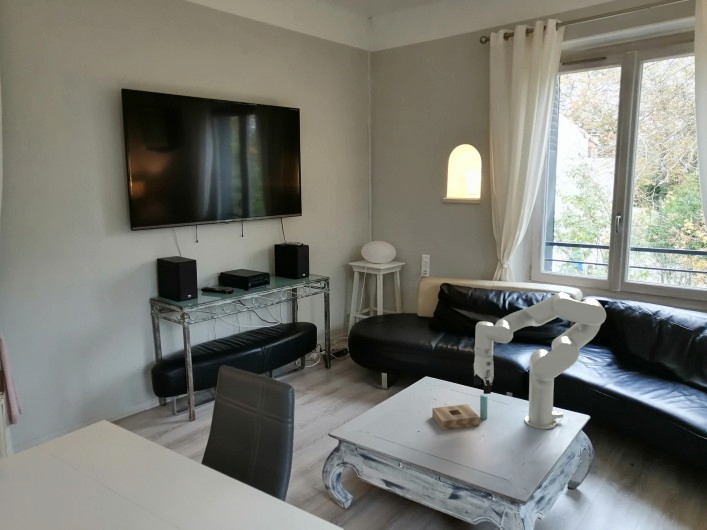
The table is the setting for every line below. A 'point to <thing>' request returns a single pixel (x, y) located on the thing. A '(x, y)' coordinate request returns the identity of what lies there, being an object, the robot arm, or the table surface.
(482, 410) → the peg
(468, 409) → the hole block
